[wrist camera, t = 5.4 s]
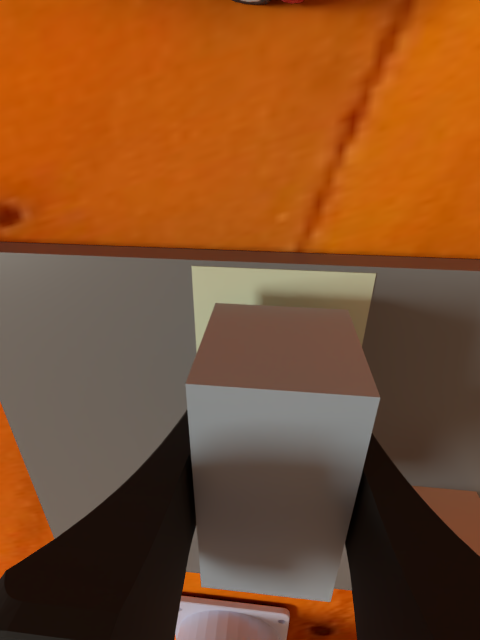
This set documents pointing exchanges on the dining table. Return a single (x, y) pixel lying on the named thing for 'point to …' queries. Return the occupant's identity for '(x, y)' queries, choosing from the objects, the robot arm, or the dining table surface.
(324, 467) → the slate brick
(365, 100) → the dining table surface
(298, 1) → the toy fire truck
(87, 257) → the baseplate
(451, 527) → the terracotta brick
